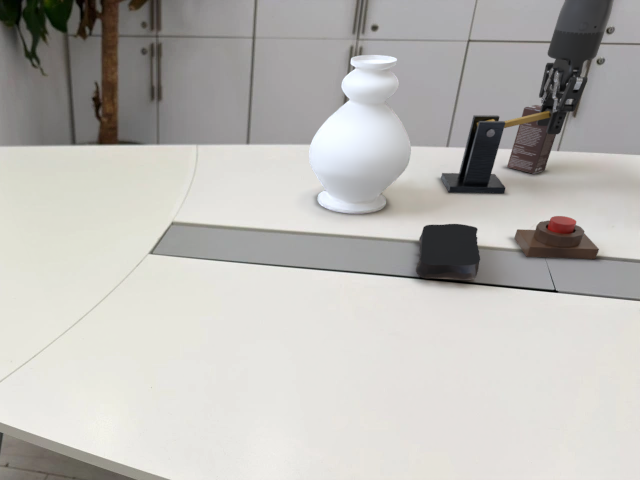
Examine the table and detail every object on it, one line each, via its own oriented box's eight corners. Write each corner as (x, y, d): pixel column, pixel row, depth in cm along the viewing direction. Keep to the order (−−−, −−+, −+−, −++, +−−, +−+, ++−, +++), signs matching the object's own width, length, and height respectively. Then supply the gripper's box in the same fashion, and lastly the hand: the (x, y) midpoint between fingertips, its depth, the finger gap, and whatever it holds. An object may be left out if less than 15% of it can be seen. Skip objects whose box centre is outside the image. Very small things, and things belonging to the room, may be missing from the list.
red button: (568, 226, 108) (571, 216, 107) (576, 235, 105) (580, 224, 104) (543, 225, 109) (547, 215, 108) (551, 234, 106) (554, 224, 105)
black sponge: (475, 289, 99) (482, 266, 97) (414, 281, 102) (419, 259, 99) (472, 245, 111) (478, 224, 109) (417, 239, 114) (422, 218, 112)
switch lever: (552, 115, 126) (553, 102, 124) (562, 122, 122) (562, 109, 120) (475, 133, 130) (475, 120, 128) (481, 140, 126) (481, 128, 124)
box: (545, 170, 139) (565, 109, 132) (532, 175, 137) (552, 113, 130) (518, 163, 143) (536, 103, 136) (505, 167, 141) (522, 107, 134)
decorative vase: (287, 192, 134) (301, 55, 119) (366, 180, 138) (389, 46, 123) (333, 225, 120) (355, 74, 105) (420, 211, 124) (453, 63, 109)
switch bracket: (493, 179, 135) (511, 113, 128) (504, 193, 129) (524, 124, 122) (440, 178, 137) (456, 113, 130) (448, 192, 131) (465, 124, 123)
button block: (579, 240, 111) (586, 220, 109) (595, 259, 105) (603, 238, 103) (513, 238, 113) (520, 218, 111) (526, 256, 107) (533, 236, 105)
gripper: (621, 34, 109) (583, 141, 119) (588, 20, 120) (556, 119, 130) (571, 34, 110) (537, 140, 120) (543, 21, 121) (514, 119, 131)
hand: (547, 129), depth 125 cm, fingers closed on switch lever, 5 cm apart
